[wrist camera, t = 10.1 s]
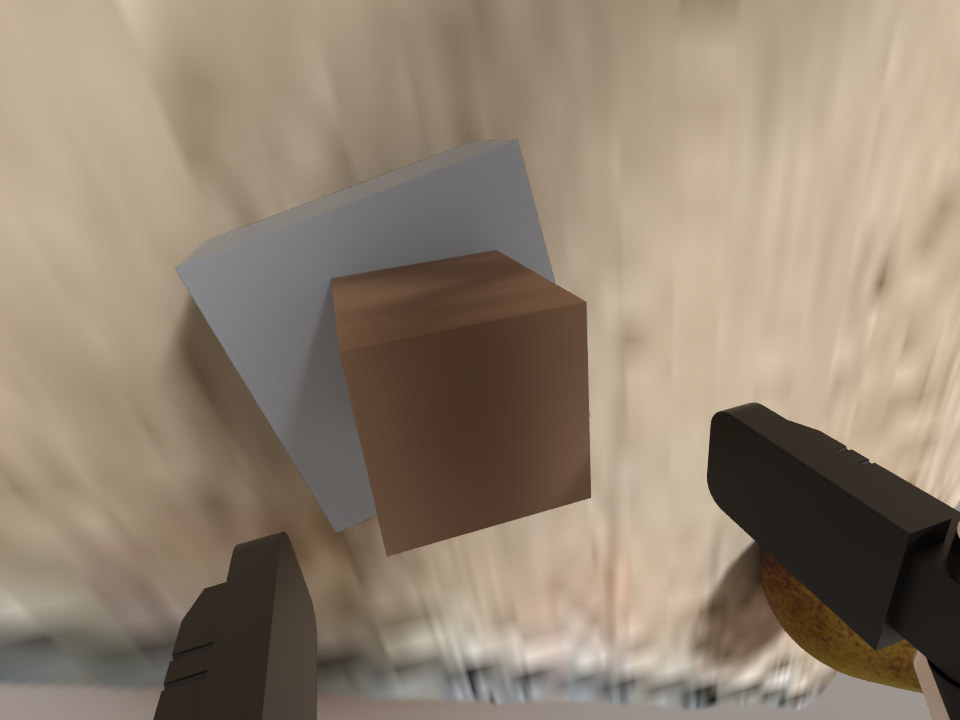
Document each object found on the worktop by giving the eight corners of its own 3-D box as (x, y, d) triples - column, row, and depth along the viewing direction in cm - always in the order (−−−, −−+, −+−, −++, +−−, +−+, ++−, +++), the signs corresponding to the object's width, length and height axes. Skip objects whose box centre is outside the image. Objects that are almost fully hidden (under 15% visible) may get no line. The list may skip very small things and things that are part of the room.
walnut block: (496, 249, 16) (586, 302, 11) (510, 393, 18) (590, 497, 13) (331, 278, 15) (338, 351, 10) (365, 427, 17) (386, 556, 12)
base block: (471, 140, 19) (517, 139, 15) (539, 366, 24) (590, 416, 19) (209, 238, 18) (174, 268, 14) (332, 457, 23) (336, 533, 18)
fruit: (779, 615, 36) (970, 809, 26) (712, 568, 32) (906, 776, 22) (868, 525, 35) (1106, 688, 25) (811, 466, 31) (1065, 630, 21)
